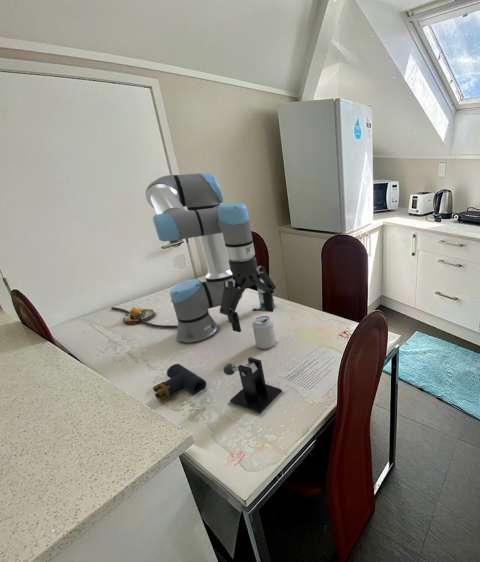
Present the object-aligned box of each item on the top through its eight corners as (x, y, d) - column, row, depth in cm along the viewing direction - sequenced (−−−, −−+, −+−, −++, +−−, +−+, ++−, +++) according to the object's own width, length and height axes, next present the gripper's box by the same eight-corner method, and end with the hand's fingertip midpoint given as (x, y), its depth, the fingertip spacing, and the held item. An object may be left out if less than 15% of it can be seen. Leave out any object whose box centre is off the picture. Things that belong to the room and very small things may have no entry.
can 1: (258, 308, 154) (253, 281, 148) (268, 303, 159) (263, 276, 153) (267, 311, 151) (262, 283, 145) (276, 306, 156) (272, 279, 150)
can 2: (270, 351, 122) (265, 325, 117) (253, 349, 123) (247, 323, 119) (279, 340, 129) (275, 315, 124) (262, 338, 130) (258, 313, 125)
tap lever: (224, 377, 99) (219, 368, 98) (232, 370, 102) (228, 361, 101) (251, 376, 93) (246, 366, 92) (260, 369, 96) (255, 359, 95)
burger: (160, 311, 153) (155, 298, 150) (144, 324, 142) (139, 310, 139) (135, 312, 152) (130, 298, 150) (117, 325, 142) (111, 310, 139)
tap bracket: (230, 403, 97) (221, 368, 92) (253, 383, 106) (246, 349, 100) (260, 415, 93) (252, 379, 87) (282, 393, 101) (276, 358, 96)
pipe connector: (167, 397, 93) (143, 379, 100) (171, 411, 95) (148, 392, 102) (204, 376, 102) (180, 360, 109) (207, 388, 104) (183, 373, 111)
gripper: (214, 274, 80) (230, 343, 88) (281, 247, 100) (289, 305, 109) (194, 270, 83) (212, 337, 91) (263, 244, 103) (272, 301, 112)
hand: (254, 320), depth 100 cm, fingers open, 13 cm apart
